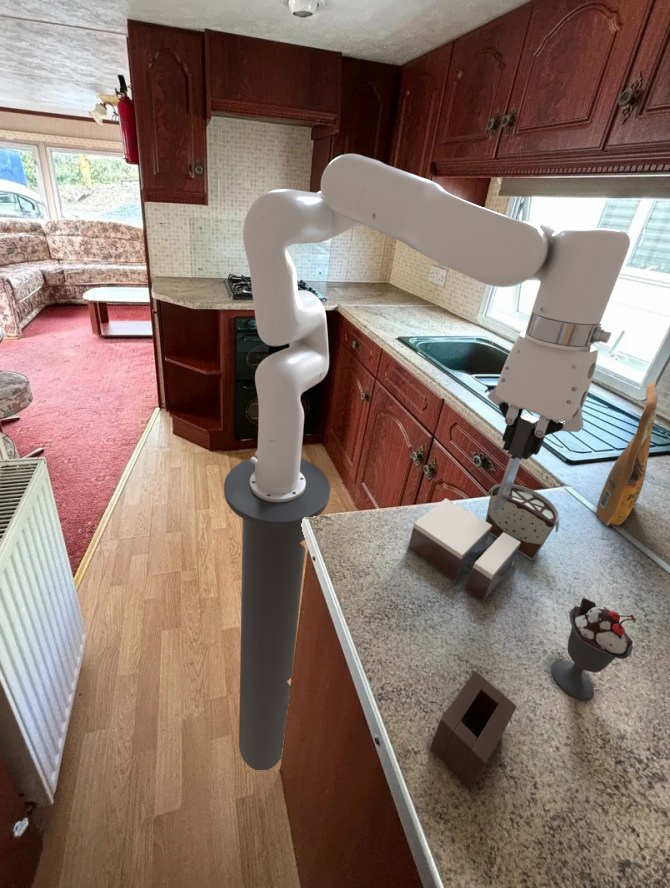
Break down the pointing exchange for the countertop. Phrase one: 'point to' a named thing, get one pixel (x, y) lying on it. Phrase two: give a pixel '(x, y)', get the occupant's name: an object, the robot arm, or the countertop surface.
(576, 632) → the sundae
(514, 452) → the knife
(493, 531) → the ice cream dessert
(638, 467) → the pancake mix bag
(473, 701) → the knife block
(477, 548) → the cake
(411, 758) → the countertop surface
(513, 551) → the cake slice
